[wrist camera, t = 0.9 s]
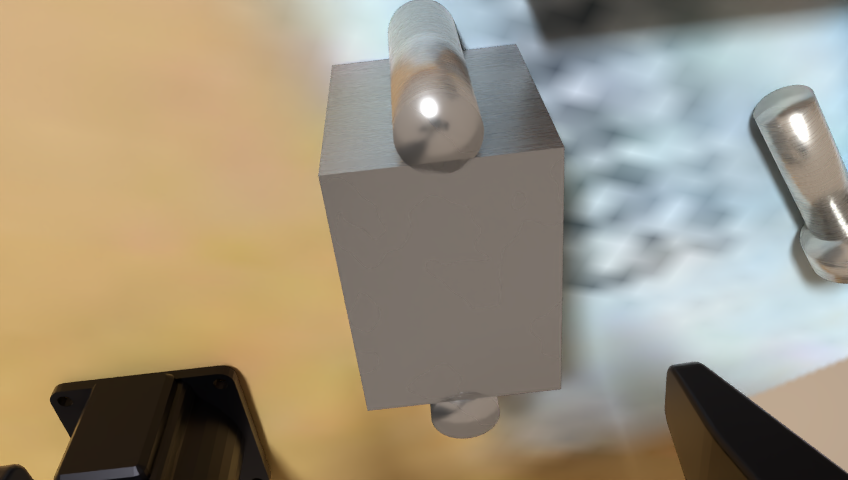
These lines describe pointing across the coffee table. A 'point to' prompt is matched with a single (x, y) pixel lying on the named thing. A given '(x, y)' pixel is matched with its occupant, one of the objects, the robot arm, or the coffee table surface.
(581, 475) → the coffee table surface
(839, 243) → the loose bolt
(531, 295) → the block
